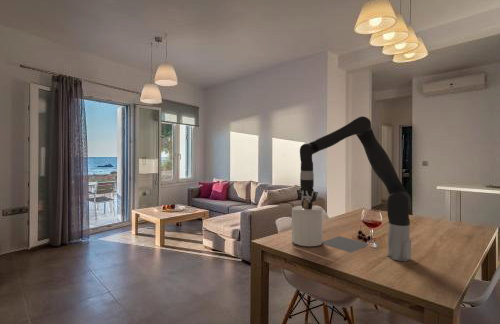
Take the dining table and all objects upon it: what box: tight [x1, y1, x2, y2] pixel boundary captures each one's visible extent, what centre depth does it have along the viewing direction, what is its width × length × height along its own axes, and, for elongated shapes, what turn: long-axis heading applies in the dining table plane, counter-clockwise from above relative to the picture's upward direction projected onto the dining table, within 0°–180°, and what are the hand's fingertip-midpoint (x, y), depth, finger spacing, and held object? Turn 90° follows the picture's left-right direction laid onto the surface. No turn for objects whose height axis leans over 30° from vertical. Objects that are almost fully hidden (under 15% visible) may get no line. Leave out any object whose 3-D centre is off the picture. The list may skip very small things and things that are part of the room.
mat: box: [321, 235, 371, 254], centre depth 156 cm, size 20×20×1 cm
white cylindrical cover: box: [291, 198, 324, 247], centre depth 158 cm, size 17×17×24 cm
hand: (306, 208), depth 157 cm, fingers closed on white cylindrical cover, 4 cm apart
